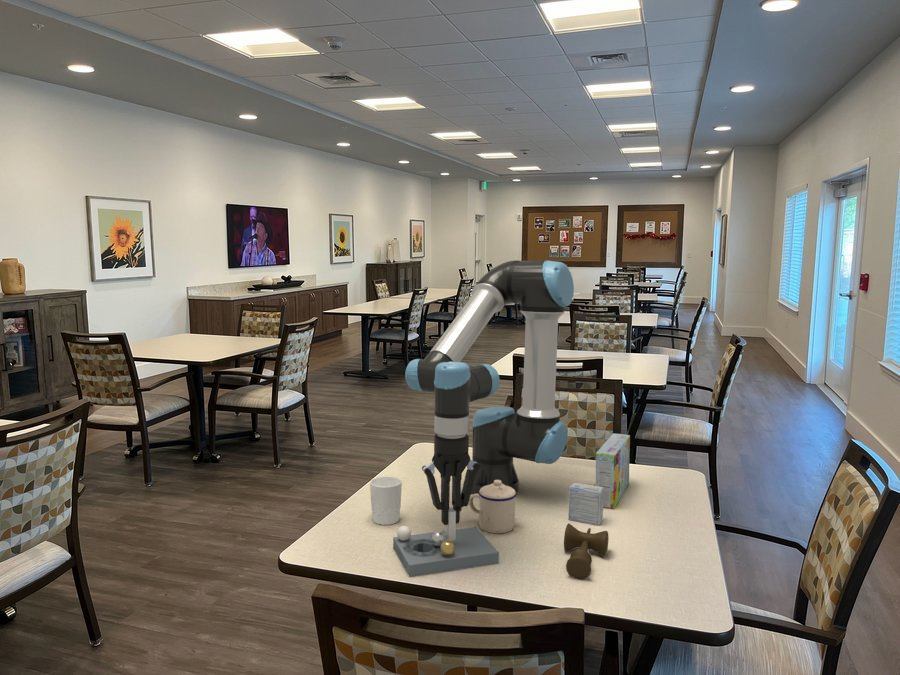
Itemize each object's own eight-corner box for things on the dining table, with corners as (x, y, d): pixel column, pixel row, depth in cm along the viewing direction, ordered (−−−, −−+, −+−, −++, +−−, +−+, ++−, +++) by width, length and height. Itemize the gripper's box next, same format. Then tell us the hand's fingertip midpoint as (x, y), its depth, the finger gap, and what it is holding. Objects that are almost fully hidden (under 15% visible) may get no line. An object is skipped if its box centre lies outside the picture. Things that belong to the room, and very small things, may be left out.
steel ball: (426, 538, 144) (437, 545, 145) (430, 544, 141) (441, 551, 142) (435, 526, 145) (445, 533, 146) (439, 531, 142) (450, 539, 143)
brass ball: (452, 550, 141) (452, 536, 141) (457, 557, 138) (457, 543, 138) (438, 552, 140) (438, 538, 140) (442, 559, 137) (442, 545, 137)
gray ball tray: (475, 536, 154) (475, 526, 154) (498, 563, 141) (498, 552, 141) (393, 547, 148) (393, 537, 148) (409, 576, 135) (409, 565, 135)
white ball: (409, 536, 148) (409, 522, 148) (412, 542, 145) (412, 528, 145) (395, 537, 147) (395, 524, 147) (398, 543, 144) (398, 530, 144)
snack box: (610, 482, 193) (612, 432, 191) (629, 485, 190) (632, 434, 188) (593, 506, 174) (595, 451, 172) (614, 510, 171) (616, 454, 169)
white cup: (396, 527, 159) (396, 488, 158) (365, 524, 161) (365, 485, 159) (405, 515, 167) (405, 477, 166) (375, 512, 168) (375, 475, 167)
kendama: (553, 578, 136) (568, 537, 155) (600, 587, 133) (609, 544, 152) (555, 551, 135) (569, 513, 154) (602, 560, 132) (611, 519, 151)
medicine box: (603, 519, 165) (604, 486, 164) (599, 526, 161) (600, 492, 160) (572, 514, 168) (573, 481, 167) (567, 520, 164) (568, 487, 163)
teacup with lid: (520, 523, 162) (521, 478, 161) (507, 537, 154) (508, 489, 153) (476, 514, 168) (477, 470, 166) (461, 527, 160) (462, 481, 158)
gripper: (473, 427, 147) (471, 527, 150) (417, 431, 143) (417, 534, 146) (485, 435, 140) (483, 540, 143) (427, 440, 136) (427, 548, 139)
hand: (450, 537), depth 144 cm, fingers closed
